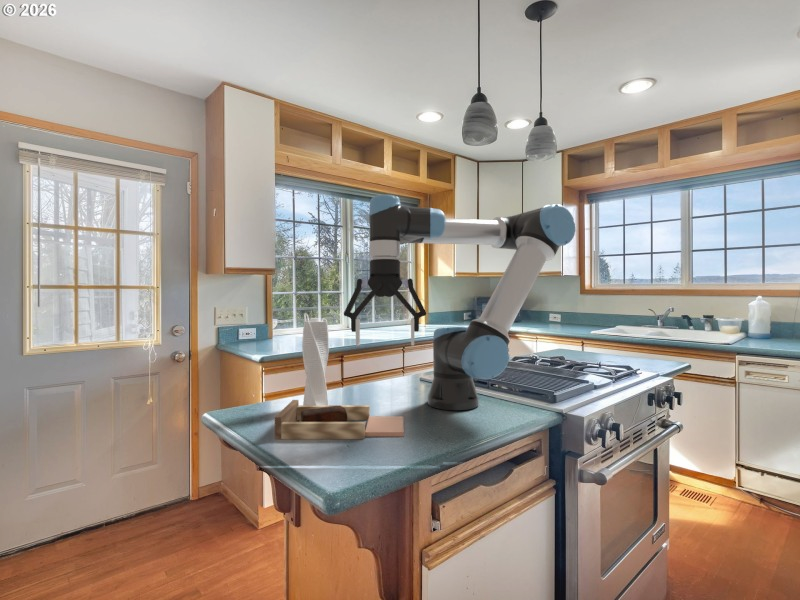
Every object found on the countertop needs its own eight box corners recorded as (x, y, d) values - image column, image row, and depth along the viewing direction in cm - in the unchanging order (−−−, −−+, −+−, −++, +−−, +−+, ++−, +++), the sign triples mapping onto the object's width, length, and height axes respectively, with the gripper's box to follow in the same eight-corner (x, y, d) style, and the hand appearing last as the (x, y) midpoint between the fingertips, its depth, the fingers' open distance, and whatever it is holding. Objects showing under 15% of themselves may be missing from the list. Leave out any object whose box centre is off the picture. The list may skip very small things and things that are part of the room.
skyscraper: (296, 410, 122) (295, 312, 122) (310, 404, 129) (310, 311, 129) (319, 413, 119) (319, 313, 119) (333, 407, 126) (333, 312, 126)
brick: (303, 434, 100) (302, 415, 100) (301, 428, 104) (300, 410, 104) (347, 427, 104) (347, 408, 104) (344, 421, 108) (343, 403, 107)
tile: (403, 420, 113) (403, 416, 113) (403, 436, 100) (403, 432, 100) (369, 420, 113) (369, 416, 113) (364, 436, 100) (364, 432, 100)
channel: (369, 418, 114) (369, 399, 114) (364, 438, 98) (364, 417, 98) (292, 418, 114) (292, 399, 114) (274, 439, 98) (274, 417, 98)
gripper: (434, 260, 109) (434, 343, 110) (336, 260, 109) (337, 343, 110) (436, 257, 102) (436, 346, 102) (332, 258, 102) (332, 347, 102)
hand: (385, 345), depth 106 cm, fingers open, 13 cm apart
